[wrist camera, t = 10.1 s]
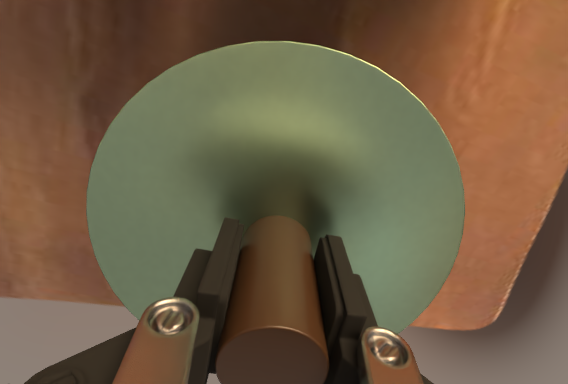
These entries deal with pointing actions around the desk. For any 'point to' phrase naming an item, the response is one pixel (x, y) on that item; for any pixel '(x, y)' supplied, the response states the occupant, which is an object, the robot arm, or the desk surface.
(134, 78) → the desk surface
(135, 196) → the tin lid
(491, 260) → the desk surface
